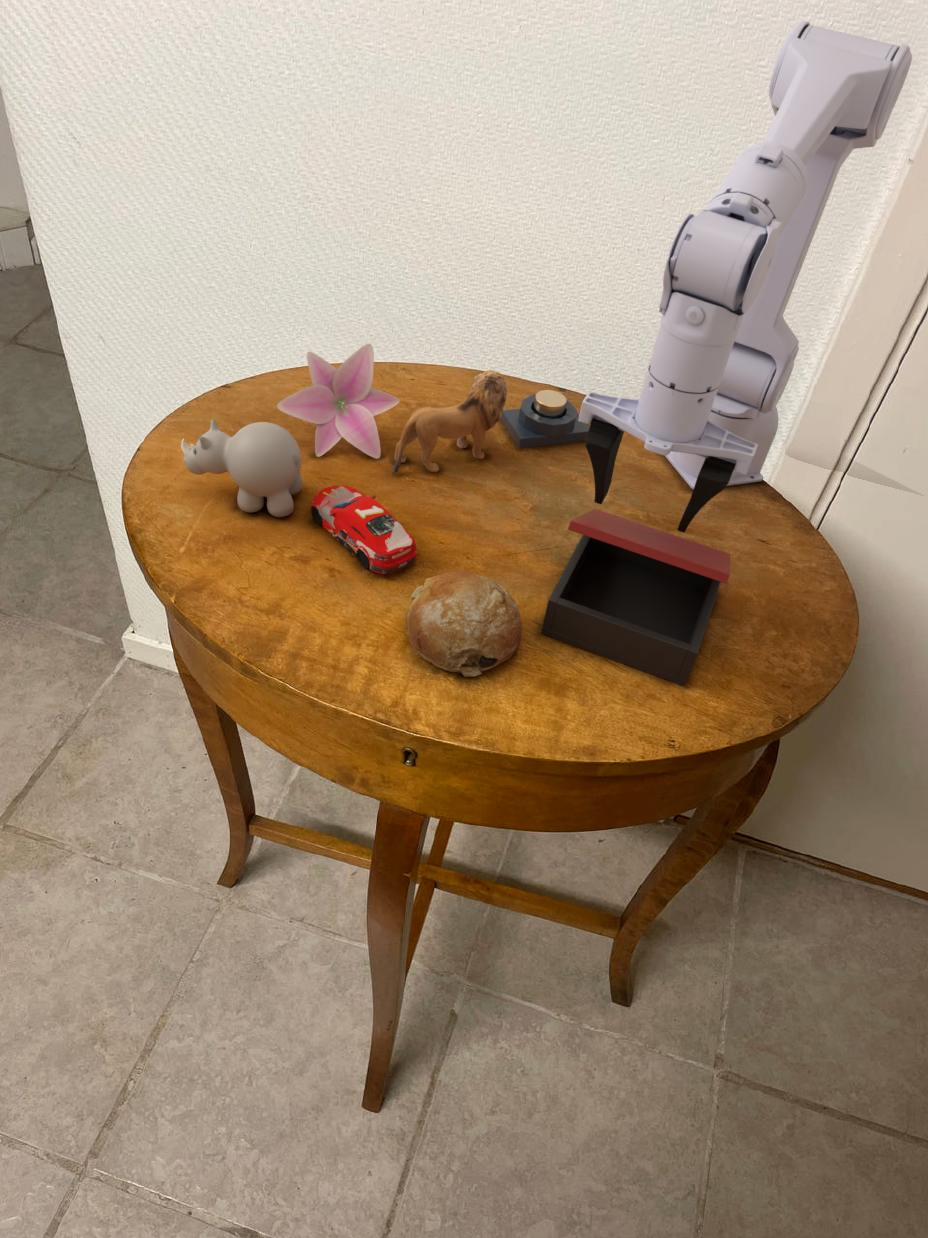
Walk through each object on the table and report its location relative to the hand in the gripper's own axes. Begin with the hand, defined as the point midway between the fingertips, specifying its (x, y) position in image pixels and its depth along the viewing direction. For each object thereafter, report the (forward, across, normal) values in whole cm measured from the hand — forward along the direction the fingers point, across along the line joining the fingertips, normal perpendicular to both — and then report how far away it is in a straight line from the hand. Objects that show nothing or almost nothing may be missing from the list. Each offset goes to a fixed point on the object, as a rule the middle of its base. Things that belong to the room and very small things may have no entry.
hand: (641, 511), depth 81 cm
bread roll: (+11, -11, -12) cm, 20 cm away
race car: (+11, -25, -5) cm, 28 cm away
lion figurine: (+11, -24, +13) cm, 29 cm away
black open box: (+10, +2, -2) cm, 11 cm away
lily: (+11, -35, +9) cm, 38 cm away
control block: (+10, -16, +24) cm, 30 cm away
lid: (+2, +2, -1) cm, 3 cm away
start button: (+8, -16, +24) cm, 29 cm away
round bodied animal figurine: (+11, -38, -5) cm, 40 cm away
